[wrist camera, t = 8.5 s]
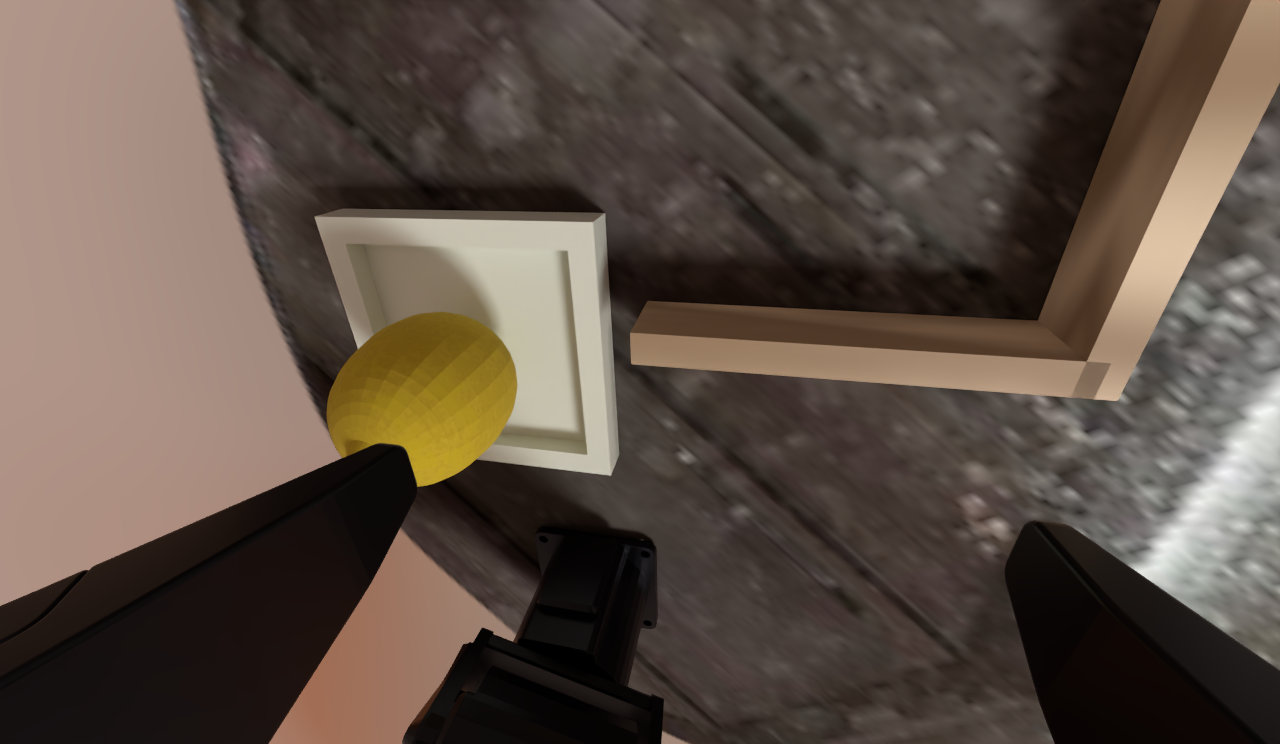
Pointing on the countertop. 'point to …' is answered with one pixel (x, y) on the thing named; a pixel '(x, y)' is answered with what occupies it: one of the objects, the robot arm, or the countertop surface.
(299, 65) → the countertop surface
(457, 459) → the lemon
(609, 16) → the countertop surface
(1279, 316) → the countertop surface
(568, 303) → the dish
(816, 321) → the u-shaped wooden frame
